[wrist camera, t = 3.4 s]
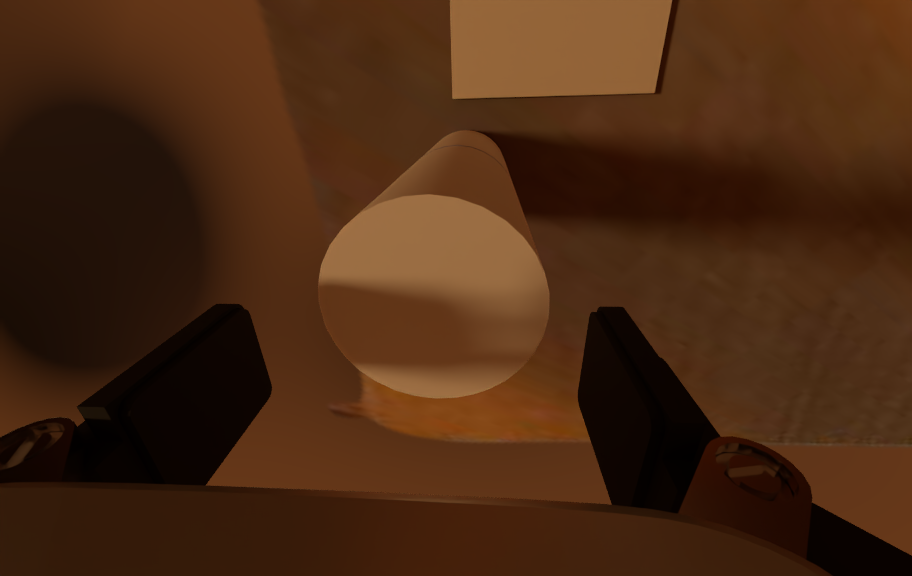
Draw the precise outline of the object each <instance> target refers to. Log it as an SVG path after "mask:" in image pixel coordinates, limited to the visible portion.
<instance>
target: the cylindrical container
mask: <svg viewBox="0 0 912 576" xmlns="http://www.w3.org/2000/svg"><path fill="white" fill-rule="evenodd" d="M318 294H319V307H320V310H321V314H322V317H323V320H324V324H325V326H326V328H327V330H328V332H329V334H330V336H331V338H332V339H333V342H334V343H335V344H336V345H337V347H338V348H339V350H340V351H341V352H342V354H343V355H344V356H345V357H346V358H347V359H348V360H349V361H350V362H351V363H352V364H353V365H354V366H355V367H356V368H357V369H359V370H360V371H361V372H363V373H364V374H366V375H367V376H369V377H370V378H372V379H373V380H375V381H376V382H379V383H381V384H383V385H385V386H387V387H389V388H391V389H393V390H397V391H400V392H403V393H407V394H410V395H414V396H421V397H429V398H456V397H462V396H467V395H473V394H476V393H479V392H482V391H485V390H487V389H490V388H492V387H494V386H496V385H498V384H500V383H502V382H504V381H505V380H507V379H508V378H510V377H511V376H512V375H513V374H515V373H516V372H517V371H518V370H520V369H521V368H522V367H523V366H524V365H525V363H526V362H527V361H528V360H529V359H530V357H531V356H532V355H533V354H534V353H535V351H536V349H537V347H538V345H539V343H540V341H541V339H542V338H543V336H544V332H545V329H546V325H547V321H548V317H549V290H548V285H547V281H546V276H545V272H544V269H543V267H542V264H541V261H540V258H539V255H538V253H537V250H536V247H535V244H534V241H533V239H532V236H531V233H530V230H529V227H528V225H527V222H526V219H525V216H524V213H523V211H522V208H521V205H520V202H519V199H518V197H517V194H516V191H515V188H514V185H513V183H512V180H511V177H510V174H509V171H508V168H507V166H506V163H505V160H504V157H503V155H502V153H501V150H500V149H499V147H498V146H497V145H496V143H495V142H494V141H493V140H492V139H491V138H489V137H487V136H486V135H484V134H482V133H479V132H477V131H471V130H462V131H457V132H453V133H451V134H449V135H447V136H445V137H444V138H443V139H442V140H440V141H439V142H438V143H437V144H436V145H435V146H434V147H433V148H431V149H430V150H429V151H428V152H427V153H426V154H425V155H424V156H422V157H421V158H420V159H419V160H418V161H417V162H416V163H415V164H413V165H412V166H411V167H410V168H409V169H408V170H407V171H406V172H405V173H404V174H402V175H401V176H400V177H399V178H398V179H397V180H396V181H395V182H394V183H393V184H391V185H390V186H389V187H388V188H387V189H386V190H385V191H384V192H382V193H381V194H380V195H379V196H378V197H377V198H376V199H375V200H373V201H372V202H371V203H370V204H369V205H368V206H367V207H366V208H365V209H363V210H362V211H361V212H360V213H359V214H358V215H357V216H356V217H354V218H353V219H352V220H351V221H350V222H349V223H348V224H347V225H345V226H344V227H343V228H342V230H341V231H340V232H339V234H338V235H337V236H336V238H335V239H334V240H333V242H332V243H331V244H330V246H329V248H328V251H327V253H326V255H325V257H324V260H323V262H322V265H321V270H320V276H319V282H318Z"/></svg>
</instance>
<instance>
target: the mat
mask: <svg viewBox="0 0 912 576" xmlns="http://www.w3.org/2000/svg"><path fill="white" fill-rule="evenodd" d="M671 4H672V0H450V18H451V56H452V95H453V99H467V98H502V97H537V96H571V95H606V94H641V93H655V88H656V83H657V78H658V72H659V67H660V62H661V57H662V51H663V46H664V41H665V36H666V30H667V25H668V20H669V14H670V9H671Z"/></svg>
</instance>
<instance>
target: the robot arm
mask: <svg viewBox="0 0 912 576" xmlns="http://www.w3.org/2000/svg"><path fill="white" fill-rule="evenodd" d="M271 391H272V386H271V382H270V378H269V375H268V372H267V369H266V365H265V362H264V359H263V355H262V352H261V349H260V346H259V342H258V339H257V336H256V332H255V329H254V326H253V323H252V319H251V316H250V314H249V312H248V311H247V310H246V309H244V308H243V307H242V306H241V305H239V304H216V305H214V306H213V307H211V308H210V309H208V310H207V311H206V312H204V313H203V314H202V315H200V316H199V317H198V318H196V319H195V320H194V321H192V322H191V323H189V324H188V325H187V326H185V327H184V328H183V329H181V330H180V331H179V332H177V333H176V334H175V335H173V336H172V337H170V338H169V339H168V340H166V341H165V342H164V343H162V344H161V345H160V346H158V347H157V348H156V349H154V350H153V351H152V352H150V353H149V354H147V355H146V356H145V357H144V358H142V359H141V360H139V361H138V362H137V363H135V364H134V365H133V366H131V367H130V368H129V369H127V370H126V371H124V372H123V373H122V374H120V375H119V376H118V377H116V378H115V379H114V380H112V381H111V382H110V383H108V384H107V385H105V386H104V387H103V388H101V389H100V390H99V391H97V392H96V393H95V394H93V395H92V396H91V397H89V398H88V399H86V400H85V401H84V402H82V403H81V404H80V405H78V406H77V408H78V409H79V411H80V413H81V414H82V416H83V418H84V419H85V421H84V422H83V423H82V424H80V425H79V426H78V427H77V426H76V424H75V423H74V421H72V420H71V419H69V418H63V417H57V418H48V419H44V420H41V421H37V422H33V423H31V424H28V425H25V426H23V427H20V428H18V429H15V430H14V431H11V432H9V433H8V434H6V435H4V436H2V437H0V576H912V556H911V555H909V554H907V553H906V552H903V551H902V550H900V549H898V548H896V547H894V546H892V545H891V544H889V543H887V542H885V541H883V540H881V539H879V538H878V537H875V536H874V535H872V534H870V533H868V532H866V531H864V530H863V529H861V528H859V527H857V526H855V525H853V524H851V523H849V522H848V521H845V520H844V519H842V518H840V517H838V516H836V515H834V514H833V513H831V512H829V511H827V510H825V509H823V508H821V507H820V506H817V505H816V504H814V503H812V494H811V488H810V485H809V484H808V482H807V480H806V479H805V477H804V475H803V474H802V473H801V472H800V471H799V470H798V469H797V468H796V467H795V466H794V465H793V464H792V463H791V462H790V461H788V460H787V459H786V458H784V457H783V456H781V455H780V454H779V453H777V452H775V451H773V450H772V449H770V448H768V447H766V446H764V445H762V444H759V443H757V442H754V441H751V440H748V439H744V438H739V437H733V436H729V437H720V435H719V434H718V432H717V431H716V430H715V428H714V427H713V426H712V424H711V423H710V422H709V420H708V419H707V417H706V416H705V415H704V413H703V412H702V411H701V409H700V408H699V406H698V405H697V404H696V402H695V401H694V400H693V398H692V397H691V396H690V394H689V393H688V391H687V390H686V389H685V387H684V386H683V385H682V383H681V382H680V381H679V379H678V378H677V376H676V375H675V374H674V372H673V371H672V370H671V368H670V367H669V365H668V364H667V363H666V362H665V361H664V360H663V359H662V358H660V357H659V356H658V355H657V353H656V352H655V351H654V349H653V348H652V346H651V345H650V344H649V342H648V341H647V339H646V338H645V337H644V335H643V334H642V332H641V331H640V330H639V328H638V327H637V326H636V324H635V323H634V321H633V320H632V319H631V317H630V316H629V314H628V313H627V312H626V310H625V309H624V308H623V307H599V308H598V310H597V312H591V314H590V317H589V323H588V330H587V336H586V343H585V349H584V356H583V362H582V369H581V375H580V382H579V389H578V402H579V407H580V410H581V413H582V416H583V419H584V422H585V425H586V428H587V431H588V434H589V437H590V440H591V443H592V446H593V449H594V452H595V455H596V458H597V461H598V464H599V467H600V470H601V473H602V476H603V479H604V482H605V485H606V488H607V491H608V494H609V497H610V500H611V503H612V505H607V504H595V503H579V502H561V501H547V500H531V499H514V498H492V497H491V498H490V497H469V496H449V495H427V494H405V493H382V492H356V491H334V490H310V489H308V490H307V489H284V488H259V487H258V488H257V487H231V486H205V485H206V484H207V483H208V481H209V480H210V478H211V477H212V476H213V474H214V473H215V471H216V470H217V469H218V468H219V466H220V465H221V463H222V462H223V461H224V459H225V458H226V457H227V455H228V454H229V452H230V451H231V450H232V448H233V447H234V446H235V444H236V443H237V441H238V440H239V439H240V437H241V436H242V435H243V433H244V432H245V430H246V429H247V428H248V426H249V425H250V424H251V422H252V421H253V419H254V418H255V417H256V415H257V414H258V413H259V411H260V410H261V409H262V407H263V406H264V405H265V403H266V402H267V400H268V399H269V397H270V395H271Z"/></svg>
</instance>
